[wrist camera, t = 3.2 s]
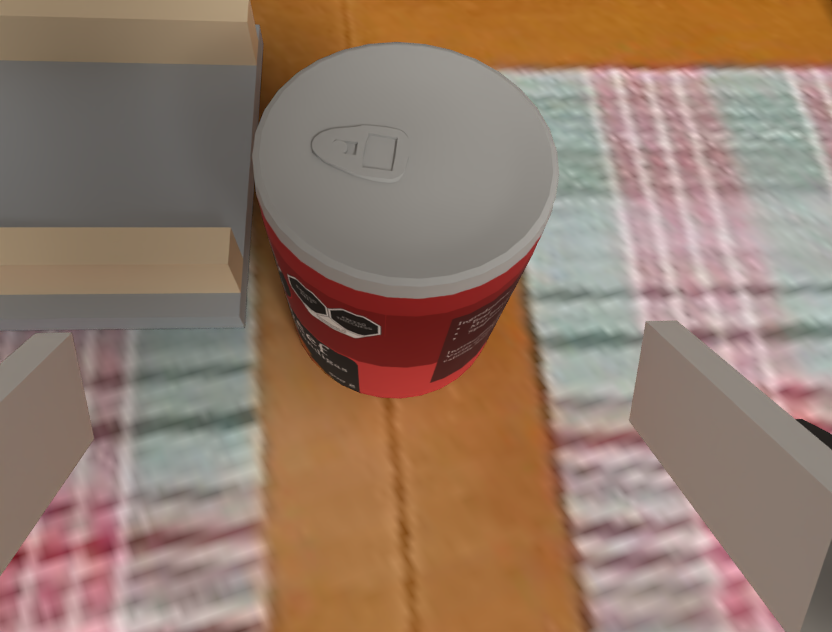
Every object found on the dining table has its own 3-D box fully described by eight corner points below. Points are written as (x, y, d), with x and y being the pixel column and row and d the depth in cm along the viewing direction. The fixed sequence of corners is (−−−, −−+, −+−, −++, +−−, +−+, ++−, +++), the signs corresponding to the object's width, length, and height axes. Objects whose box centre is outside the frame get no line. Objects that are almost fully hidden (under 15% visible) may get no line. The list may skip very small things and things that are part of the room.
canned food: (288, 244, 27) (240, 47, 17) (469, 225, 28) (526, 28, 18) (303, 417, 24) (258, 307, 14) (504, 390, 25) (595, 269, 15)
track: (263, 44, 31) (250, -21, 28) (244, 327, 26) (225, 289, 22) (-125, 35, 30) (-190, -35, 26) (-236, 333, 24) (-335, 293, 21)
